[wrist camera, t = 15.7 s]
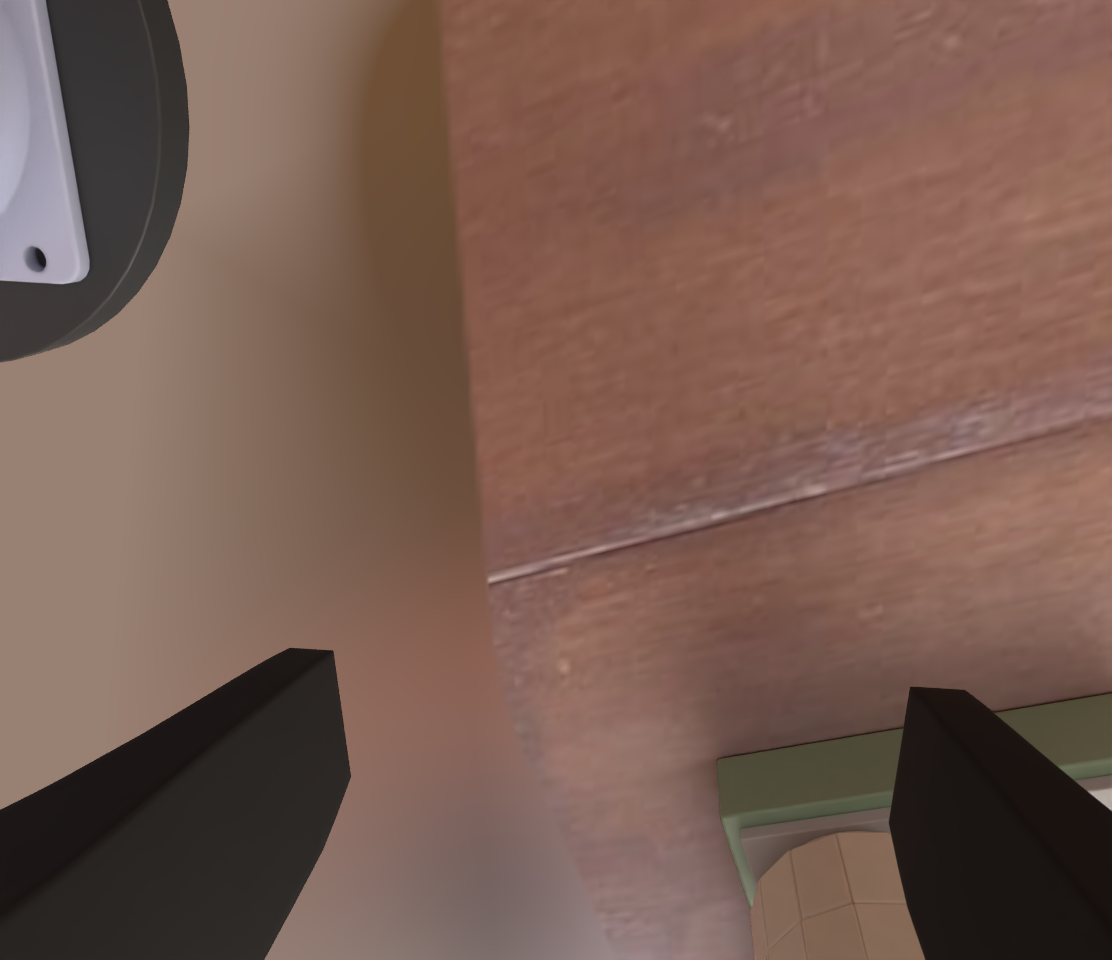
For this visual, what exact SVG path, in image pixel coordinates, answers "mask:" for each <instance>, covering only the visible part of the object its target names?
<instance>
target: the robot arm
mask: <svg viewBox="0 0 1112 960" xmlns="http://www.w3.org/2000/svg"><path fill="white" fill-rule="evenodd" d="M38 249H40V250H41V251H42V252H43V253H44V255H45V258H46V267H45V268H44V267H43V266H42V265H41V264H40V262H39V260H38V257H37V250H38ZM89 263H90V260H89V254H88V248H87V242H86V236H85V230H84V224H83V218H82V212H81V206H80V200H79V194H78V189H77V183H76V177H75V171H74V165H73V159H72V153H71V147H70V141H69V135H68V129H67V123H66V117H65V111H64V106H63V100H62V94H61V88H60V82H59V76H58V70H57V64H56V58H55V52H54V46H53V40H52V34H51V28H50V22H49V17H48V11H47V5H46V0H0V280H2V281H18V282H35V283H51V284H66V283H72V282H78V281H81V280H82V279H84V278H85V277H86V276H87V273H88V271H89ZM350 778H351V773H350V766H349V760H348V752H347V745H346V738H345V732H344V724H343V716H342V710H341V702H340V695H339V688H338V681H337V674H336V667H335V660H334V652H333V651H331V650H330V651H329V650H316V649H315V650H314V649H299V648H289V649H287V650H285V651H283V652H281V653H279V654H277V655H275V656H273V657H271V658H269V659H267V660H265V661H264V662H262V663H260V664H258V665H257V666H255V667H253V668H252V669H250V670H248V671H247V672H245V673H243V674H241V675H240V676H238V677H236V678H235V679H233V680H231V681H230V682H228V683H226V684H225V685H223V686H221V687H220V688H218V689H216V690H215V691H213V692H212V693H210V694H208V695H207V696H205V697H203V698H202V699H200V700H198V701H197V702H195V703H193V704H192V705H190V706H188V707H187V708H185V709H183V710H182V711H180V712H178V713H177V714H175V715H173V716H171V717H170V718H168V719H166V720H165V721H163V722H161V723H160V724H158V725H156V726H155V727H153V728H151V729H150V730H148V731H146V732H145V733H143V734H141V735H140V736H138V737H136V738H134V739H132V740H130V741H129V742H127V743H125V744H123V745H121V746H120V747H118V748H116V749H114V750H113V751H111V752H109V753H107V754H105V755H103V756H102V757H100V758H98V759H96V760H94V761H93V762H91V763H89V764H87V765H85V766H84V767H82V768H80V769H78V770H76V771H75V772H73V773H71V774H69V775H67V776H66V777H64V778H62V779H60V780H58V781H56V782H54V783H53V784H51V785H49V786H47V787H45V788H43V789H41V790H39V791H37V792H35V793H33V794H31V795H29V796H27V797H25V798H23V799H21V800H19V801H17V802H15V803H13V804H11V805H9V806H7V807H5V808H3V809H1V810H0V960H264V959H265V957H266V955H267V954H268V952H269V950H270V948H271V946H272V944H273V943H274V941H275V939H276V937H277V935H278V933H279V932H280V930H281V928H282V926H283V924H284V922H285V920H286V919H287V917H288V915H289V913H290V911H291V909H292V908H293V906H294V904H295V902H296V900H297V898H298V896H299V894H300V892H301V891H302V889H303V887H304V884H305V883H306V881H307V879H308V877H309V876H310V874H311V872H312V870H313V868H314V866H315V864H316V862H317V860H318V858H319V856H320V854H321V853H322V851H323V848H324V846H325V843H326V841H327V838H328V836H329V833H330V831H331V828H332V826H333V824H334V821H335V819H336V816H337V813H338V811H339V808H340V805H341V802H342V800H343V797H344V794H345V792H346V789H347V786H348V783H349V781H350ZM889 827H890V832H891V837H892V841H893V846H894V851H895V856H896V860H897V865H898V870H899V874H900V878H901V883H902V887H903V891H904V895H905V900H906V904H907V908H908V911H909V914H910V917H911V920H912V923H913V926H914V929H915V932H916V935H917V937H918V940H919V943H920V946H921V949H922V952H923V955H924V957H925V960H1112V811H1111V810H1110V809H1109V808H1108V807H1106V806H1105V805H1104V804H1103V803H1101V802H1100V801H1099V800H1098V799H1096V798H1095V797H1094V796H1093V795H1092V794H1090V793H1089V792H1088V791H1087V790H1085V789H1084V788H1083V787H1082V786H1080V785H1079V784H1078V783H1077V782H1076V781H1074V780H1073V779H1072V778H1071V777H1070V776H1068V775H1067V774H1066V773H1065V772H1064V771H1062V770H1061V769H1060V768H1059V767H1058V766H1056V765H1055V764H1054V763H1053V762H1052V761H1050V760H1049V759H1048V758H1047V757H1046V756H1045V755H1043V754H1042V753H1041V752H1040V751H1039V750H1037V749H1036V748H1035V747H1034V746H1033V745H1031V744H1030V743H1029V742H1028V741H1027V740H1026V739H1024V738H1023V737H1022V736H1021V735H1020V734H1018V733H1017V732H1016V731H1015V730H1014V729H1013V728H1011V727H1010V726H1009V725H1008V724H1007V723H1005V722H1004V721H1003V720H1002V719H1001V718H999V717H998V716H997V715H996V714H995V713H993V712H992V711H991V710H990V709H989V708H987V707H986V706H985V705H984V704H982V703H981V702H980V701H979V700H977V699H976V698H975V697H974V696H972V695H971V694H970V693H968V692H967V691H966V690H958V689H942V688H926V687H910V691H909V697H908V704H907V710H906V716H905V723H904V729H903V735H902V741H901V748H900V754H899V760H898V767H897V773H896V779H895V785H894V792H893V798H892V804H891V810H890V817H889Z"/></svg>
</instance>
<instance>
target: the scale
mask: <svg viewBox="0 0 1112 960" xmlns="http://www.w3.org/2000/svg"><path fill="white" fill-rule="evenodd" d="M995 714H996V715H997V716H998V717H999V718H1001V719H1002V720H1003V721H1004V722H1005V723H1007V724H1008V725H1009V726H1010V727H1011V728H1013V729H1014V730H1015V731H1016V732H1017V733H1018V734H1020V735H1021V736H1022V737H1023V738H1024V739H1026V740H1027V741H1028V742H1029V743H1030V744H1031V745H1033V746H1034V747H1035V748H1036V749H1037V750H1039V751H1040V752H1041V753H1042V754H1043V755H1045V756H1046V757H1047V758H1048V759H1049V760H1050V761H1052V762H1053V763H1054V764H1055V765H1056V766H1058V767H1059V768H1060V769H1061V770H1062V771H1064V772H1065V773H1066V774H1067V775H1068V776H1070V777H1071V778H1072V779H1073V780H1074V781H1076V782H1077V783H1078V784H1079V785H1080V786H1082V787H1083V788H1084V789H1085V790H1087V791H1088V792H1089V793H1090V794H1092V795H1093V796H1094V797H1095V798H1096V799H1098V800H1099V801H1100V802H1101V803H1103V804H1104V805H1105V806H1106V807H1108V808H1109V809H1110V810H1111V811H1112V693H1111V694H1105V695H1099V696H1093V697H1087V698H1081V699H1075V700H1069V701H1063V702H1057V703H1051V704H1045V705H1039V706H1033V707H1027V708H1021V709H1015V710H1009V711H1003V712H997V713H995ZM903 729H904V728H901V729H895V730H889V731H883V732H877V733H871V734H865V735H859V736H853V737H848V738H842V739H836V740H830V741H824V742H818V743H812V744H806V745H800V746H794V747H788V748H782V749H776V750H770V751H764V752H758V753H752V754H746V755H740V756H734V757H728V758H722V759H718V760H717V777H718V791H719V806H720V818H721V822H722V825H723V828H724V831H725V834H726V837H727V840H728V843H729V846H730V849H731V852H732V855H733V858H734V862H735V865H736V868H737V871H738V874H739V877H740V880H741V883H742V886H743V889H744V892H745V895H746V899H747V902H748V905H749V908H750V911H751V908H752V904H753V900H754V896H755V892H756V888H757V883H758V880H759V879H760V878H761V876H762V875H763V874H764V873H765V872H767V871H768V870H769V869H770V868H771V867H772V866H773V865H774V864H775V863H776V862H777V861H778V860H779V859H780V858H781V857H782V856H783V855H784V854H785V853H786V852H787V851H788V850H790V851H791V850H792V849H793V848H796V847H798V846H801V845H803V844H805V843H807V842H809V841H811V840H813V839H815V838H818V837H821V836H824V835H828V834H832V833H837V832H844V831H873V832H888V833H889V834H890V833H891V832H890V827H889V817H890V810H891V804H892V798H893V792H894V785H895V779H896V773H897V767H898V760H899V754H900V748H901V741H902V735H903Z"/></svg>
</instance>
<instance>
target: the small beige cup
mask: <svg viewBox="0 0 1112 960" xmlns="http://www.w3.org/2000/svg"><path fill="white" fill-rule="evenodd" d="M750 917H751V928H752V938H753V948H754V958H755V960H925V957H924V955H923V952H922V949H921V946H920V943H919V940H918V937H917V935H916V932H915V929H914V926H913V923H912V920H911V917H910V914H909V911H908V908H907V904H906V900H905V895H904V891H903V887H902V883H901V878H900V874H899V870H898V865H897V860H896V856H895V851H894V846H893V841H892V837H891V833H890V834H889V833H888V832H873V831H844V832H837V833H832V834H828V835H824V836H821V837H818V838H815V839H813V840H811V841H809V842H807V843H805V844H803V845H801V846H798V847H796V848H793V849H792V850H791V851H790V850H788V851H787V852H786V853H785V854H784V855H783V856H782V857H781V858H780V859H779V860H778V861H777V862H776V863H775V864H774V865H773V866H772V867H771V868H770V869H769V870H768V871H767V872H765V873H764V874H763V875H762V876H761V878H760V879H759V880H758V883H757V888H756V892H755V896H754V900H753V904H752V908H751V912H750Z"/></svg>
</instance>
